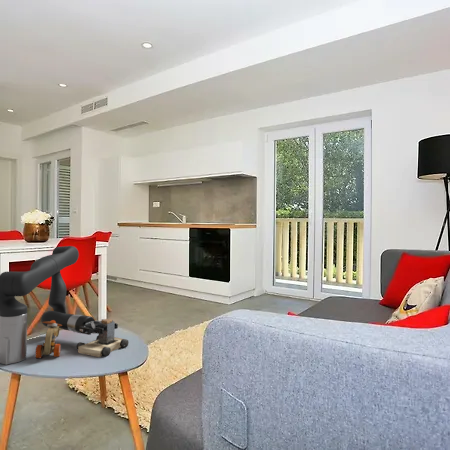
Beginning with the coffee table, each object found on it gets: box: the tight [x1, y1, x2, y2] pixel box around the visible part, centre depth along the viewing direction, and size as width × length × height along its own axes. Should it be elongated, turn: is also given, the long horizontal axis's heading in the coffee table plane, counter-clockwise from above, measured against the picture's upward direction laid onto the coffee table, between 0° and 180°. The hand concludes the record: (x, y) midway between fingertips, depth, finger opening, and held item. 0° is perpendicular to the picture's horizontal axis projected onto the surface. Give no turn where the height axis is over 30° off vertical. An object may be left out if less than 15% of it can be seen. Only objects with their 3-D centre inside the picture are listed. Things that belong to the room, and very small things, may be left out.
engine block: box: [98, 318, 116, 345], centre depth 149 cm, size 4×4×11 cm
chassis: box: [76, 334, 130, 358], centre depth 147 cm, size 16×15×3 cm
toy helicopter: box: [35, 320, 62, 359], centre depth 143 cm, size 8×21×14 cm, turn 16°
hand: (110, 328), depth 148 cm, fingers open, 8 cm apart
